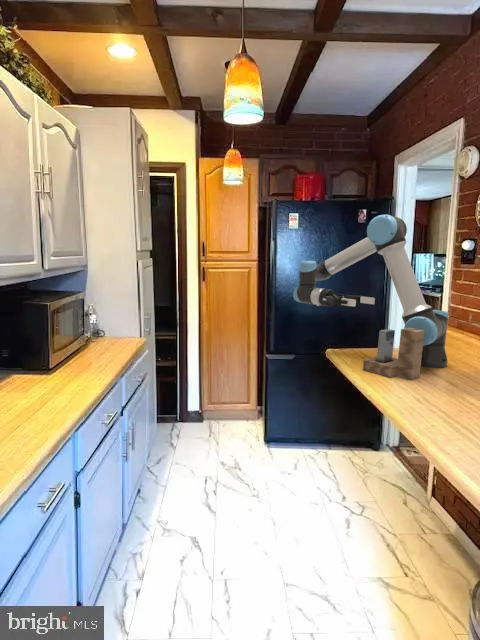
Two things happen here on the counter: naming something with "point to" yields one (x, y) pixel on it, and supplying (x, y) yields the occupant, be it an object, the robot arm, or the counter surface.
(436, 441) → the counter surface
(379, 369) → the wooden post with frame
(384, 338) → the grey metal block
